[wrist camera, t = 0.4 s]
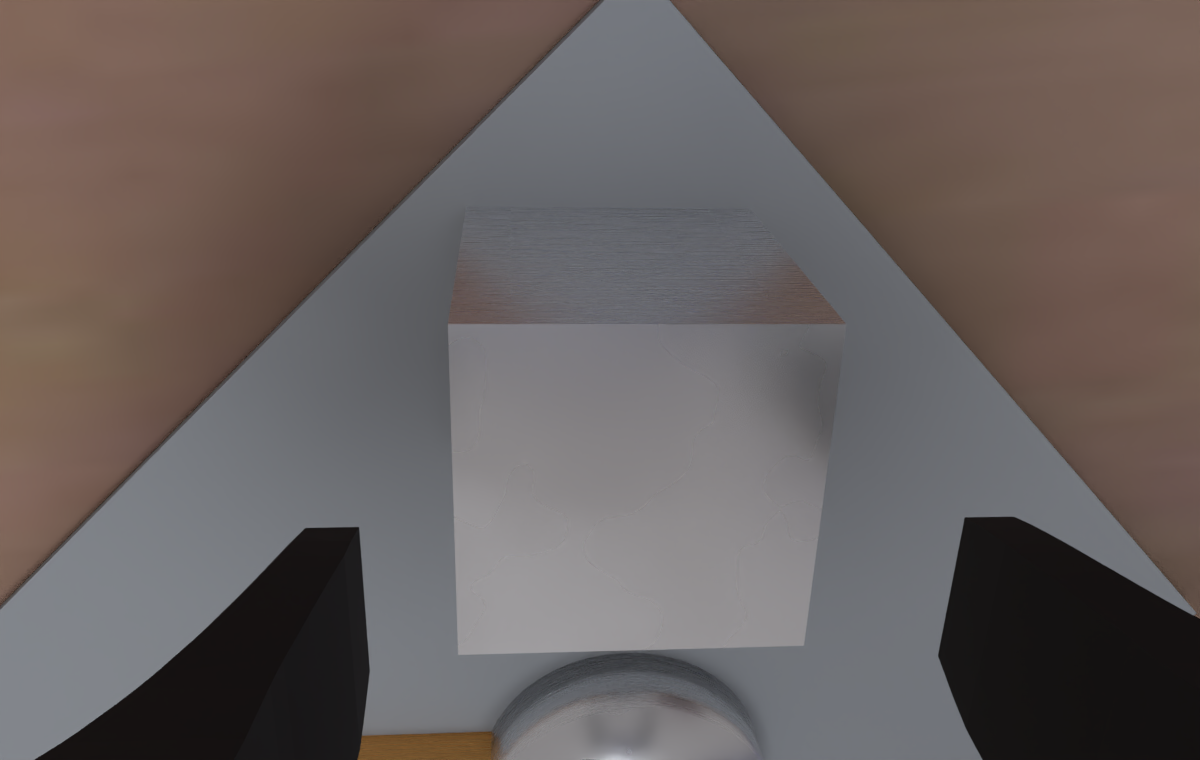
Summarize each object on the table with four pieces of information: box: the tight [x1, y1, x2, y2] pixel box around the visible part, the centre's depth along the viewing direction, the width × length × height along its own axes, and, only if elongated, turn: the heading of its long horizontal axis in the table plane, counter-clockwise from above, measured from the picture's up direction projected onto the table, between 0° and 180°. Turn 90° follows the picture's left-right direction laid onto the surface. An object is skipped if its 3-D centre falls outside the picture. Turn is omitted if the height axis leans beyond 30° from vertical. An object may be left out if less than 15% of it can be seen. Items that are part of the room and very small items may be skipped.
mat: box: [0, 0, 1196, 760], centre depth 23 cm, size 19×22×1 cm
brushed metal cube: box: [448, 207, 846, 655], centre depth 17 cm, size 5×5×6 cm
